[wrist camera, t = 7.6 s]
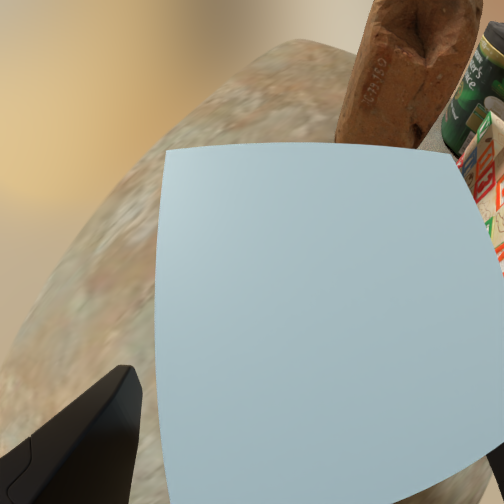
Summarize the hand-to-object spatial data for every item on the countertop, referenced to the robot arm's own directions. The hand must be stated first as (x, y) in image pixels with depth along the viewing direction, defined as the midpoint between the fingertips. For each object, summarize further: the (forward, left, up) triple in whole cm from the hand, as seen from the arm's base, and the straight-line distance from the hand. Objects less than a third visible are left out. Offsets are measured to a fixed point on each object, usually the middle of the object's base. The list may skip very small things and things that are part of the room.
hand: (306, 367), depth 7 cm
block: (+20, -8, -11) cm, 25 cm away
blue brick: (0, 0, -7) cm, 7 cm away
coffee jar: (+27, -23, -11) cm, 37 cm away
